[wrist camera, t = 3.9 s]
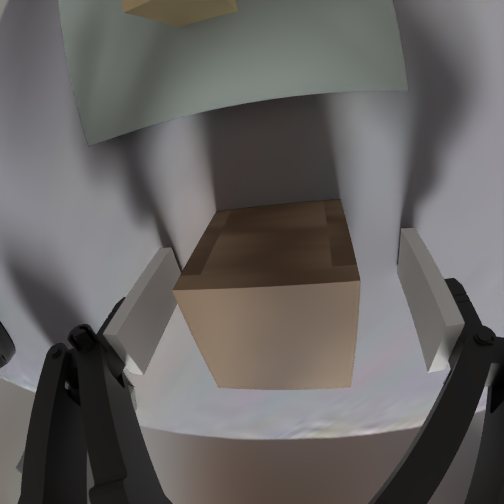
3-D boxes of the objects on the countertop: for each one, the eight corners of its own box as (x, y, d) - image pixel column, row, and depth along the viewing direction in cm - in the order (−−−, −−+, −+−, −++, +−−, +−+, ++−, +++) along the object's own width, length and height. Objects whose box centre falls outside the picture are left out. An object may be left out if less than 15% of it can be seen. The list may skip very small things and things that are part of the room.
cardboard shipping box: (241, 302, 18) (218, 387, 13) (216, 211, 15) (172, 290, 10) (342, 297, 16) (350, 387, 11) (340, 199, 13) (360, 280, 8)
